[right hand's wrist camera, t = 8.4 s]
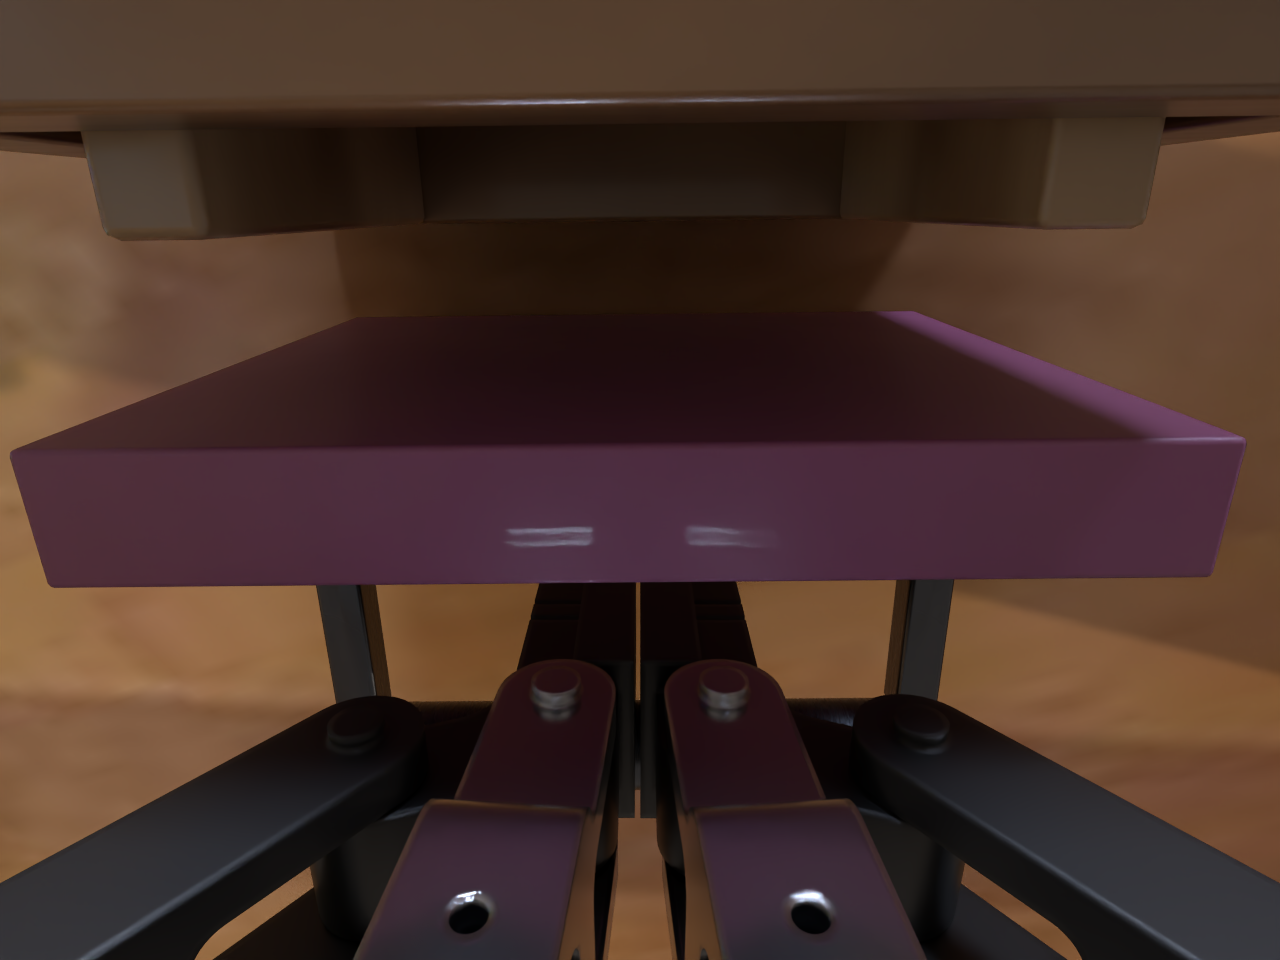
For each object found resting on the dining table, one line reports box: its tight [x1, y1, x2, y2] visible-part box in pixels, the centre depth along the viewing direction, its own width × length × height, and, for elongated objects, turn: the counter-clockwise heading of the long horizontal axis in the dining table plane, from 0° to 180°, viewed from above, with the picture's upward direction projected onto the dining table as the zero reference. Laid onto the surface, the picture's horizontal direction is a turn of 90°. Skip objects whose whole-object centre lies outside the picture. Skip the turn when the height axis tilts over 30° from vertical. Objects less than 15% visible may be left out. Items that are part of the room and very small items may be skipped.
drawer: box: [10, 117, 1247, 790], centre depth 8 cm, size 19×10×8 cm, turn 1°
